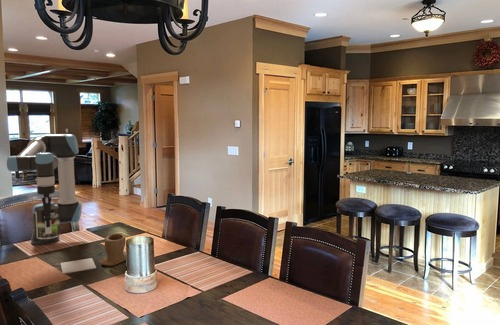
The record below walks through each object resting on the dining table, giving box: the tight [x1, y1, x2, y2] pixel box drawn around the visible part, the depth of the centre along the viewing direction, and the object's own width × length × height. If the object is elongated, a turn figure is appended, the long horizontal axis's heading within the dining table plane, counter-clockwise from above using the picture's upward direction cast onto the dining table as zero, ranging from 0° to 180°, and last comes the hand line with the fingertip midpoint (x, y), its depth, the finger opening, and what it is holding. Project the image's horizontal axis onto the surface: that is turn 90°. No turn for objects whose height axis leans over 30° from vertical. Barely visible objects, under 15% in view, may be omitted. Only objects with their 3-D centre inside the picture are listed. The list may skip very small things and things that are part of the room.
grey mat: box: [60, 257, 97, 275], centre depth 197 cm, size 15×15×1 cm
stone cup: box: [99, 232, 127, 267], centre depth 202 cm, size 15×12×15 cm
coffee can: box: [35, 206, 61, 239], centre depth 190 cm, size 10×10×14 cm
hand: (48, 230), depth 190 cm, fingers closed on coffee can, 10 cm apart
